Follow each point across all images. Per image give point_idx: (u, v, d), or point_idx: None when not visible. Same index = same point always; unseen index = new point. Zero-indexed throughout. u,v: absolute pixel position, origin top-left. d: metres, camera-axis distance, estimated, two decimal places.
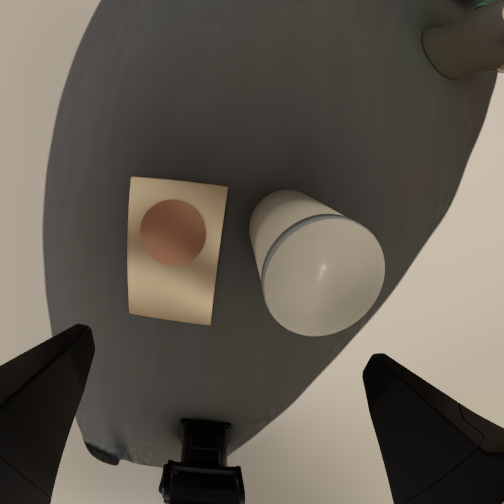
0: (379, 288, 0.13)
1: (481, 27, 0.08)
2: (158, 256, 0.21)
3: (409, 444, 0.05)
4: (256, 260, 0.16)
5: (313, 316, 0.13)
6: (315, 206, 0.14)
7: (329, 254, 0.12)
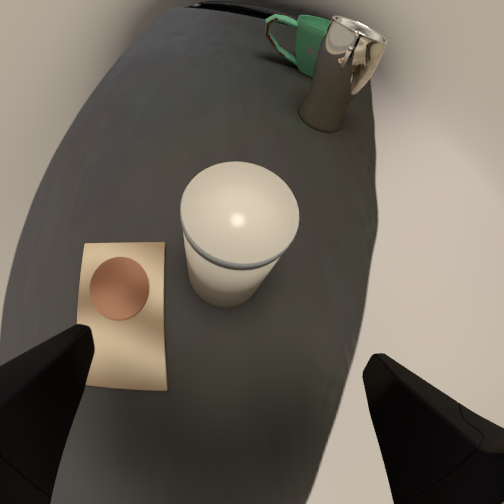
0: (297, 209, 0.14)
1: (321, 66, 0.24)
2: (105, 311, 0.19)
3: (409, 444, 0.05)
4: (186, 251, 0.16)
5: (237, 238, 0.13)
6: None
7: (232, 184, 0.14)
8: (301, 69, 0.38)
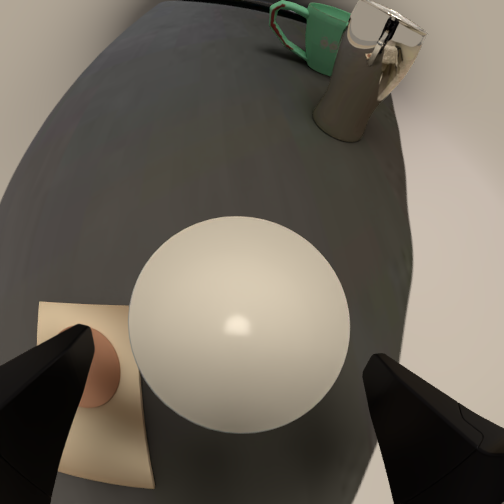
0: (345, 312, 0.08)
1: (346, 58, 0.18)
2: None
3: (409, 444, 0.05)
4: None
5: (239, 389, 0.06)
6: None
7: (227, 268, 0.07)
8: (312, 65, 0.31)
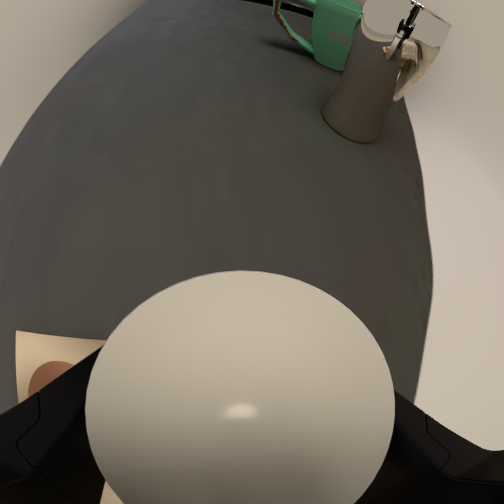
0: (390, 402, 0.05)
1: (362, 49, 0.15)
2: None
3: None
4: None
5: None
6: None
7: (224, 361, 0.04)
8: (319, 59, 0.28)
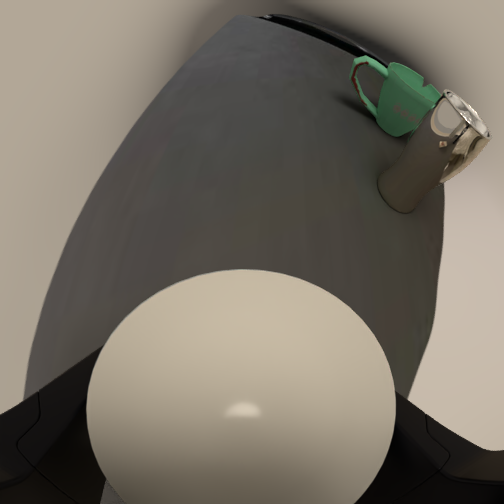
0: (391, 401, 0.05)
1: (420, 147, 0.22)
2: None
3: None
4: None
5: None
6: None
7: (226, 360, 0.04)
8: (380, 124, 0.35)
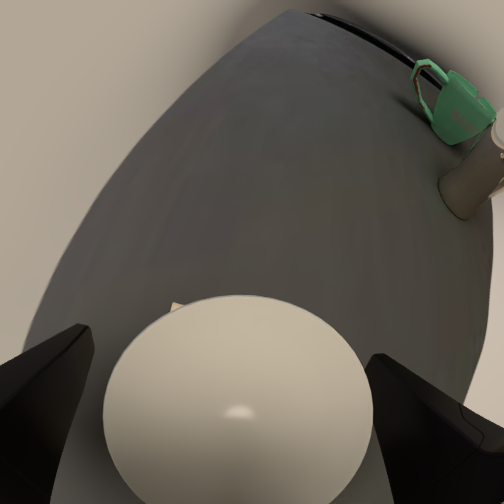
0: (369, 409, 0.05)
1: (488, 151, 0.17)
2: None
3: (409, 444, 0.05)
4: None
5: (241, 502, 0.04)
6: None
7: (223, 374, 0.05)
8: (436, 130, 0.31)
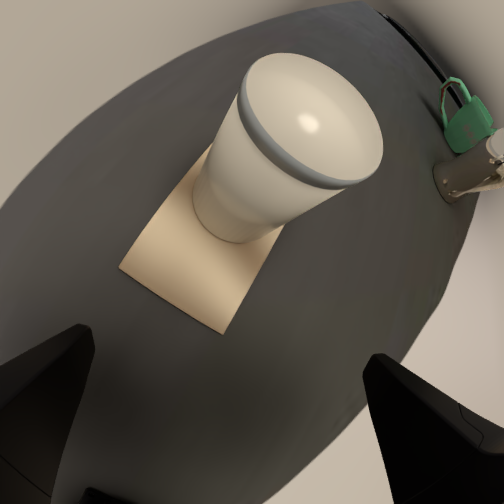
0: (380, 144, 0.10)
1: (480, 151, 0.22)
2: None
3: (409, 444, 0.05)
4: (216, 143, 0.11)
5: (314, 137, 0.08)
6: None
7: (317, 81, 0.09)
8: (446, 134, 0.35)
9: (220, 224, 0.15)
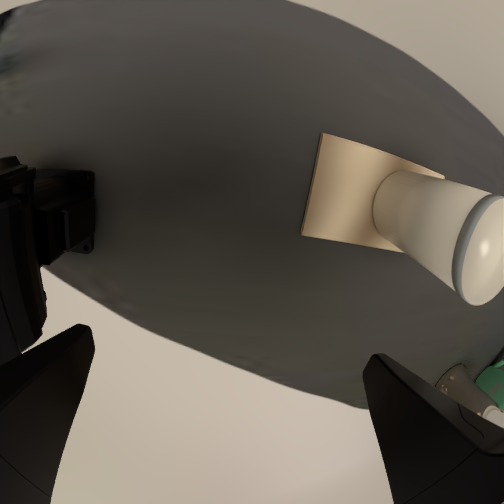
0: (483, 302, 0.11)
1: (484, 401, 0.21)
2: None
3: (409, 444, 0.05)
4: (449, 185, 0.12)
5: (479, 255, 0.10)
6: None
7: None
8: (488, 369, 0.32)
9: (388, 204, 0.17)
